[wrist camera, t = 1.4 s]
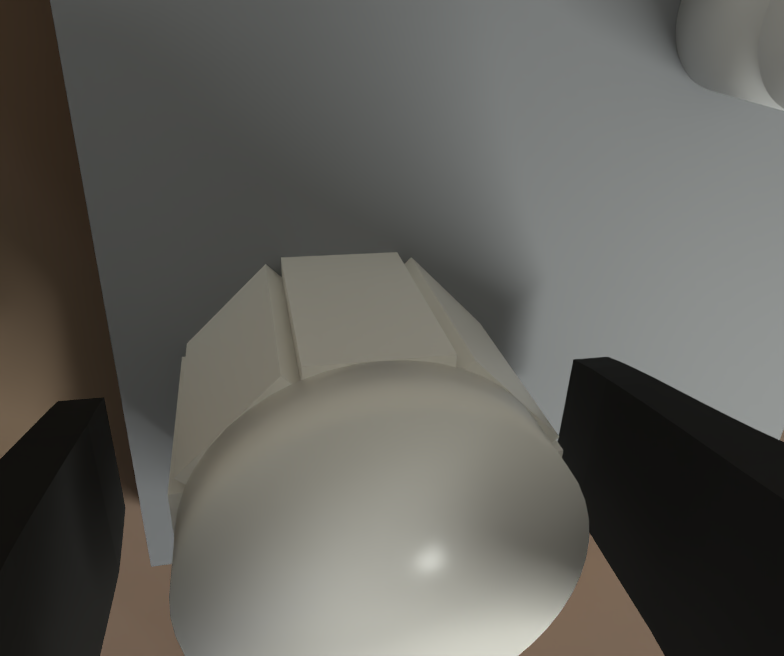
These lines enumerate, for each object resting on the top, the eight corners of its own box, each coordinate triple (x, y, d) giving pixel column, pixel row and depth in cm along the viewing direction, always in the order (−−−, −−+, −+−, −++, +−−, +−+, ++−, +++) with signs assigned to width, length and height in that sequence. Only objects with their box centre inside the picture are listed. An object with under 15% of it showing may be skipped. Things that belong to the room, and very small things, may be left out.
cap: (201, 519, 12) (193, 751, 9) (170, 262, 10) (140, 435, 6) (466, 487, 13) (555, 683, 10) (494, 247, 11) (625, 389, 7)
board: (158, 509, 14) (133, 716, 10) (17, -354, 8) (-180, -650, 4) (719, 444, 17) (867, 590, 13) (944, -238, 10) (1354, -350, 7)
